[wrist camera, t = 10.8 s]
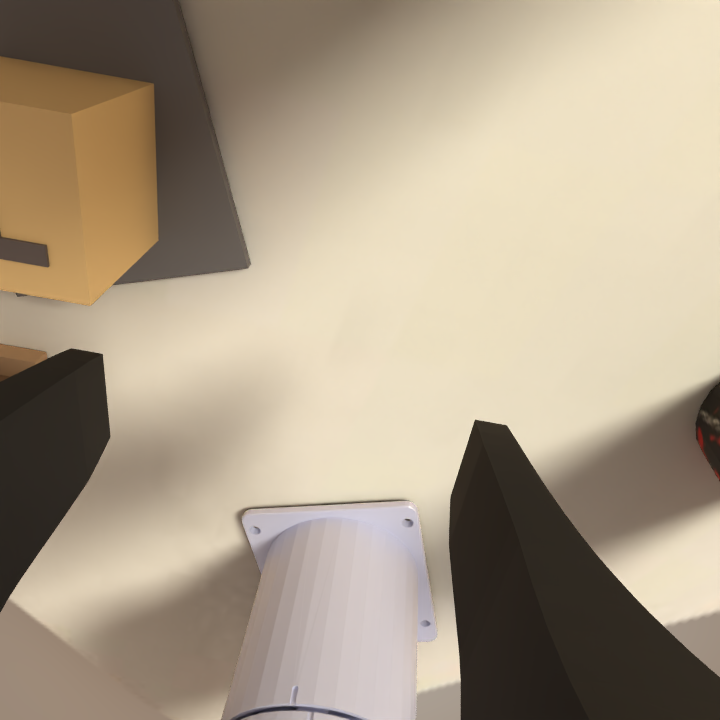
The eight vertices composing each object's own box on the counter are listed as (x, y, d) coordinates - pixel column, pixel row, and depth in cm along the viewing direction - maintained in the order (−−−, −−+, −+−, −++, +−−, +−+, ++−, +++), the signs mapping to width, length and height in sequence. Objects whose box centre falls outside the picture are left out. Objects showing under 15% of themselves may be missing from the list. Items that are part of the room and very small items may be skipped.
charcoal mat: (250, 263, 21) (247, 268, 21) (23, 292, 23) (17, 296, 23) (168, -37, 17) (162, -38, 17) (-110, 22, 18) (-120, 23, 18)
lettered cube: (158, 243, 21) (89, 310, 17) (15, 217, 21) (-92, 278, 17) (154, 83, 18) (69, 115, 14) (-11, 54, 18) (-147, 76, 14)
